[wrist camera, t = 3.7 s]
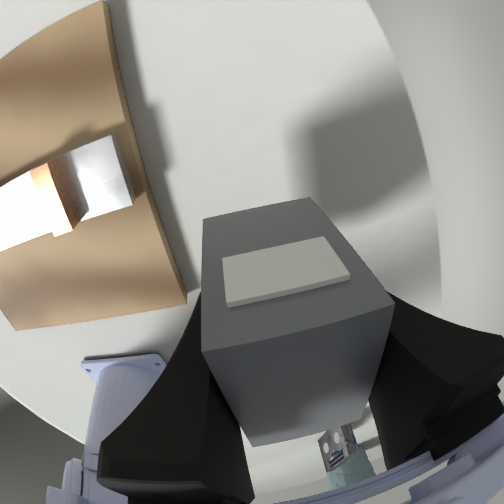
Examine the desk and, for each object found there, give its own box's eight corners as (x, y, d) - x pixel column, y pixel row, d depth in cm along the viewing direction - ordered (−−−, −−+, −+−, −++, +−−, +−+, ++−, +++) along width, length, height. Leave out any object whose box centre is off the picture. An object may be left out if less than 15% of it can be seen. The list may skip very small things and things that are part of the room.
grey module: (316, 312, 14) (360, 419, 9) (235, 331, 13) (252, 446, 8) (309, 193, 10) (396, 298, 5) (202, 215, 10) (199, 347, 5)
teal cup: (313, 465, 47) (326, 511, 37) (330, 450, 42) (346, 503, 32) (355, 455, 49) (369, 498, 38) (375, 438, 44) (393, 486, 33)
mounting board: (187, 293, 18) (186, 304, 17) (20, 322, 18) (15, 330, 17) (108, 4, 8) (102, 0, 8) (-64, 128, 8) (-73, 131, 7)
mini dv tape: (326, 438, 37) (335, 470, 32) (317, 440, 37) (326, 472, 32) (347, 416, 33) (360, 452, 28) (338, 418, 33) (350, 454, 28)
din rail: (137, 197, 13) (127, 213, 12) (-27, 257, 13) (-41, 273, 11) (117, 131, 11) (103, 138, 10) (-46, 216, 11) (-61, 230, 9)
